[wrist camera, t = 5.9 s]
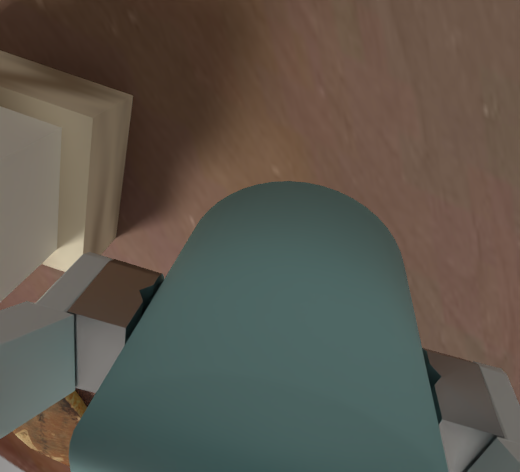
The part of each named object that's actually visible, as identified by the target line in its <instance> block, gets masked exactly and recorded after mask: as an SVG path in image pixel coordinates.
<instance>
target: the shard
mask: <svg viewBox="0 0 520 472" xmlns="http://www.w3.org/2000/svg"><path fill="white" fill-rule="evenodd" d="M86 409H87V407H86V405H85V404H84V402H83V400H82V399H81V397H80V396H79V395H78V393H77V392H76V391H74V392H72V393H71V394H69V395H67V396H66V397H64V398H63V399H61V400H60V401H58V402H57V403H55V404H53V405H52V406H50V407H49V408H47V409H46V410H44V411H43V412H41V413H40V414H38V415H36V416H35V417H33V418H32V419H30V420H29V421H27V422H26V423H24V424H22V425H21V426H19V427H18V428H16V429H15V430H14V431H13V433H14V434H15V435H16V436H17V437H18V438H19V439H21V440H22V441H23V442H24V443H25V444H27V445H28V446H29V447H30V448H31V449H33V450H35V451H37V452H39V453H41V454H43V455H44V456H49V457H50V458H52V459H54V460H57V461H59V462H61V463H63V464H65V465H68V466H70V463H69V444H70V440H71V437H72V434H73V431H74V429H75V427H76V426H77V424H78V422H79V421H80V419H81V417H82V416H83V414H84V412H85V411H86Z"/></svg>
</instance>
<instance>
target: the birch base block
mask: <svg viewBox="0 0 520 472" xmlns="http://www.w3.org/2000/svg"><path fill="white" fill-rule="evenodd" d="M132 102H133V95H130V94H127V93H124V92H121V91H118V90H115V89H112V88H109V87H106V86H103V85H101V84H98V83H95V82H92V81H89V80H86V79H83V78H80V77H77V76H74V75H71V74H68V73H65V72H62V71H59V70H56V69H54V68H51V67H48V66H45V65H42V64H39V63H36V62H33V61H30V60H27V59H24V58H21V57H18V56H15V55H12V54H10V53H7V52H4V51H1V50H0V106H1V107H4V108H7V109H10V110H12V111H15V112H18V113H21V114H24V115H27V116H30V117H33V118H36V119H38V120H41V121H44V122H47V123H50V124H53V125H56V126H59V127H62V134H61V159H60V185H59V210H58V236H57V250H56V251H54V252H53V253H52V254H51V255H50V256H49V257H48V258H47V259H46V260H45V261H44V262H43V263H42V264H43V265H46V266H49V267H52V268H55V269H58V270H61V271H64V272H66V271H67V270H68V269H69V268H70V267H71V266H72V265H73V264H74V263H75V262H76V261H77V260H78V259H79V258H80V257H81V256H82V255H83V254H85V253H88V252H92V253H95V254H98V255H101V254H102V253H103V252H104V251H105V250H106V249H107V247H108V246H109V245H110V244H111V243H112V242H113V241H114V239H115V238H116V234H117V225H118V217H119V209H120V201H121V192H122V184H123V176H124V168H125V160H126V151H127V143H128V135H129V127H130V119H131V110H132Z"/></svg>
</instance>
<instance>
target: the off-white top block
mask: <svg viewBox="0 0 520 472" xmlns="http://www.w3.org/2000/svg"><path fill="white" fill-rule="evenodd" d="M61 134H62V127H59V126H56V125H53V124H50V123H47V122H44V121H41V120H38V119H36V118H33V117H30V116H27V115H24V114H21V113H18V112H15V111H12V110H10V109H7V108H4V107H1V106H0V302H1V301H2V300H3V299H4V298H5V297H7V296H8V295H9V294H10V293H11V292H12V291H13V290H14V289H15V288H16V287H17V286H18V285H19V284H20V283H21V282H23V281H24V280H25V279H26V278H27V277H28V276H29V275H30V274H31V273H32V272H33V271H34V270H35V269H36V268H37V267H39V266H40V265H41V264H42V263H43V262H44V261H45V260H46V259H47V258H48V257H49V256H50V255H51V254H52V253H53V252H54V251H56V250H57V236H58V210H59V185H60V159H61Z"/></svg>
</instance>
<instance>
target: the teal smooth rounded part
mask: <svg viewBox="0 0 520 472" xmlns="http://www.w3.org/2000/svg"><path fill="white" fill-rule="evenodd" d="M69 463H70V470H71V472H449V471H448V466H447V462H446V457H445V452H444V448H443V443H442V439H441V434H440V429H439V425H438V420H437V415H436V411H435V406H434V401H433V397H432V392H431V388H430V383H429V378H428V374H427V369H426V364H425V360H424V355H423V351H422V346H421V341H420V337H419V332H418V327H417V323H416V318H415V313H414V309H413V304H412V300H411V295H410V290H409V286H408V281H407V276H406V272H405V267H404V263H403V259H402V256H401V252H400V250H399V248H398V245H397V243H396V241H395V239H394V238H393V236H392V235H391V233H390V232H389V230H388V228H387V227H386V226H385V225H384V224H383V223H382V222H381V220H380V219H379V218H378V217H377V216H376V215H375V214H373V213H372V212H371V211H370V210H369V209H368V208H366V207H365V206H363V205H362V204H360V203H359V202H357V201H356V200H354V199H353V198H351V197H349V196H347V195H344V194H342V193H340V192H338V191H335V190H333V189H330V188H327V187H324V186H320V185H315V184H310V183H304V182H292V181H284V182H270V183H264V184H258V185H254V186H251V187H248V188H244V189H242V190H240V191H237V192H235V193H233V194H231V195H229V196H227V197H226V198H224V199H223V200H221V201H219V202H218V203H217V204H216V205H214V206H213V207H212V208H211V209H210V210H209V211H208V212H207V213H206V214H205V215H204V216H203V217H202V219H201V220H200V221H199V223H198V224H197V226H196V228H195V229H194V231H193V232H192V234H191V236H190V237H189V239H188V241H187V242H186V244H185V246H184V247H183V249H182V251H181V252H180V254H179V256H178V257H177V259H176V261H175V262H174V264H173V266H172V267H171V269H170V271H169V272H168V274H167V276H166V277H165V279H164V281H163V282H162V284H161V286H160V287H159V289H158V291H157V292H156V294H155V296H154V297H153V299H152V301H151V302H150V304H149V306H148V307H147V309H146V311H145V312H144V314H143V316H142V317H141V319H140V321H139V322H138V324H137V326H136V327H135V329H134V331H133V332H132V334H131V336H130V337H129V339H128V341H127V342H126V344H125V346H124V347H123V349H122V351H121V352H120V354H119V356H118V357H117V359H116V361H115V362H114V364H113V366H112V367H111V369H110V371H109V372H108V374H107V376H106V377H105V379H104V381H103V382H102V384H101V386H100V387H99V389H98V391H97V392H96V394H95V396H94V397H93V399H92V401H91V402H90V404H89V406H88V407H87V409H86V411H85V412H84V414H83V416H82V417H81V419H80V421H79V422H78V424H77V426H76V427H75V429H74V431H73V434H72V437H71V440H70V444H69Z"/></svg>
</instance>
